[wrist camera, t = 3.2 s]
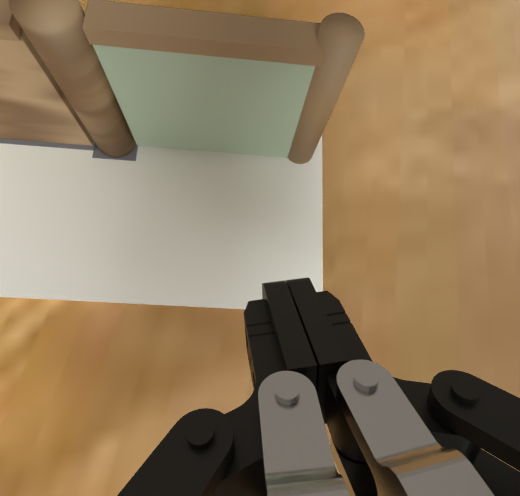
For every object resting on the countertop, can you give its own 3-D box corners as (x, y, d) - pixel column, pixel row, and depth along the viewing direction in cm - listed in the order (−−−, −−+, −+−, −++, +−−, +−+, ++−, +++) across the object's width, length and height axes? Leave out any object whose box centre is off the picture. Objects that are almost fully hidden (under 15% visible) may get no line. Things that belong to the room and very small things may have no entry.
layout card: (320, 70, 26) (321, 66, 26) (321, 313, 22) (323, 312, 21) (26, 42, 25) (23, 38, 25) (-39, 295, 20) (-44, 294, 20)
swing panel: (313, 139, 24) (363, 15, 15) (313, 165, 23) (365, 51, 14) (140, 125, 23) (85, -15, 14) (136, 151, 23) (77, 23, 14)
